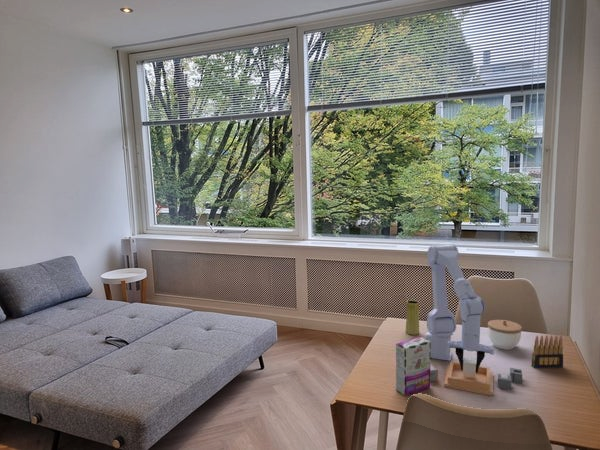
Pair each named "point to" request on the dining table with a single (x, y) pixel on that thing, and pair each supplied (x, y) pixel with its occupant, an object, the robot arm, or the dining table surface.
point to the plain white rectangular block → (469, 367)
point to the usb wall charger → (433, 373)
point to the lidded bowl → (504, 333)
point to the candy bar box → (413, 365)
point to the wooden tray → (469, 379)
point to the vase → (412, 317)
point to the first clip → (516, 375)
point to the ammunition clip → (548, 353)
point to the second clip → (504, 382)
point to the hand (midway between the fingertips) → (469, 370)
